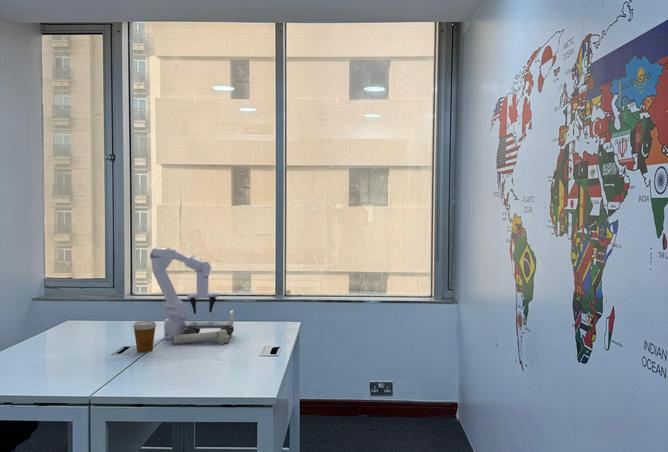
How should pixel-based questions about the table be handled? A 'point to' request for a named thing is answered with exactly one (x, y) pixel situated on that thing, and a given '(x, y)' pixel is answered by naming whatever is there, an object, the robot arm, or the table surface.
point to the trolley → (209, 326)
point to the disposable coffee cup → (144, 335)
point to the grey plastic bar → (202, 337)
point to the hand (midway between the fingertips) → (202, 312)
